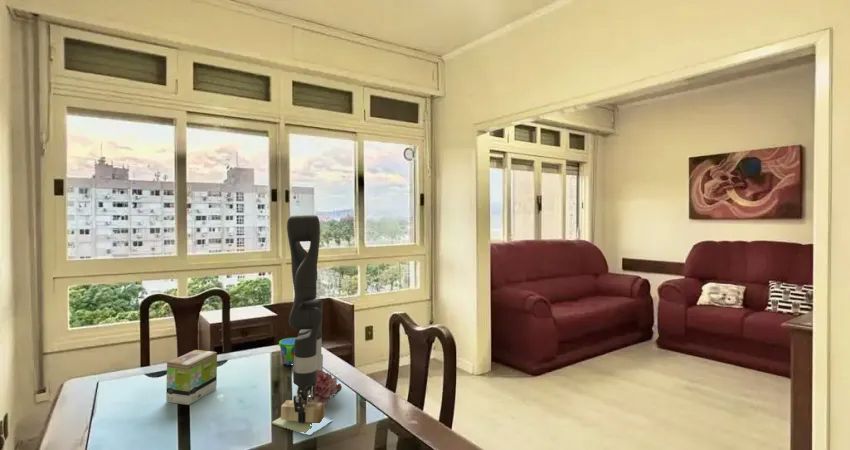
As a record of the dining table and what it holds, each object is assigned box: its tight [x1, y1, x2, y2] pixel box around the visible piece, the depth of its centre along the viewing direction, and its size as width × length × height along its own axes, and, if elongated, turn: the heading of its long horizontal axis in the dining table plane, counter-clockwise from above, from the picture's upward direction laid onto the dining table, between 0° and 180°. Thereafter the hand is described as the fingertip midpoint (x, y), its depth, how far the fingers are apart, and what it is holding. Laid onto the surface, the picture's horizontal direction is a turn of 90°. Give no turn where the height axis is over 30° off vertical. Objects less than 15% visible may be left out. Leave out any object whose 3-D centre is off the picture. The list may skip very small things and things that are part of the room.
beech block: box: [280, 399, 326, 423], centre depth 151 cm, size 5×5×13 cm
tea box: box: [165, 349, 218, 406], centre depth 169 cm, size 15×10×15 cm, turn 168°
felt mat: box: [271, 416, 313, 433], centre depth 151 cm, size 11×16×1 cm
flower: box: [303, 370, 343, 405], centre depth 168 cm, size 15×15×10 cm
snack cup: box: [278, 337, 297, 366], centre depth 204 cm, size 16×10×10 cm
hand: (304, 418), depth 151 cm, fingers closed on beech block, 4 cm apart
